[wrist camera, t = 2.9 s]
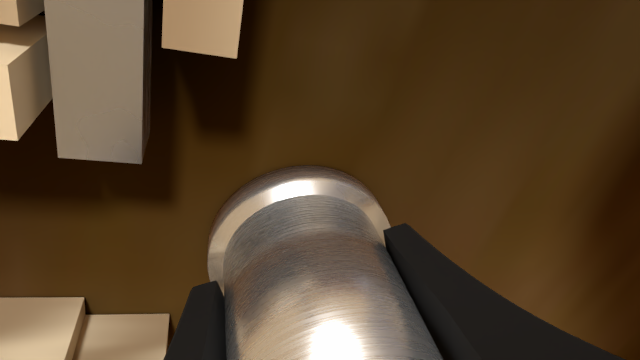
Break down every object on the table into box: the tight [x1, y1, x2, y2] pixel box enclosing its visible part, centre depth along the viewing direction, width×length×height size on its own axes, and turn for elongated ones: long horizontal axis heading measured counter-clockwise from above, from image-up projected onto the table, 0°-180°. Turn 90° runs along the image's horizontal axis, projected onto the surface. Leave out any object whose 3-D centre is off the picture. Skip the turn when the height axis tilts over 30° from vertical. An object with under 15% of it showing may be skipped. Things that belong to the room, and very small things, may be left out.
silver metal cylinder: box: [208, 165, 443, 360], centre depth 10 cm, size 5×5×6 cm
